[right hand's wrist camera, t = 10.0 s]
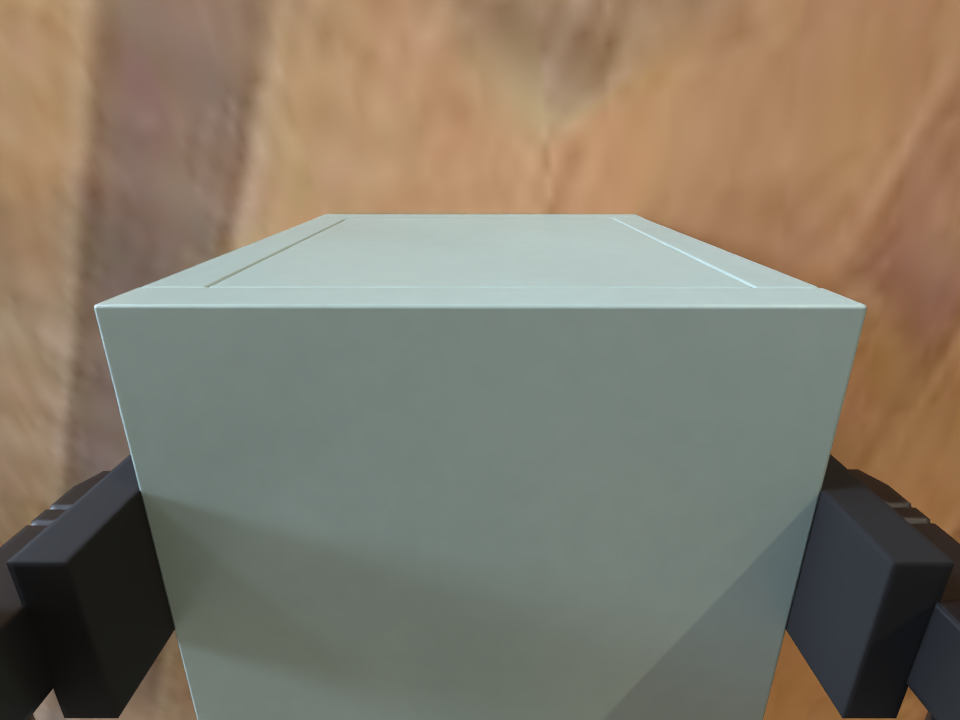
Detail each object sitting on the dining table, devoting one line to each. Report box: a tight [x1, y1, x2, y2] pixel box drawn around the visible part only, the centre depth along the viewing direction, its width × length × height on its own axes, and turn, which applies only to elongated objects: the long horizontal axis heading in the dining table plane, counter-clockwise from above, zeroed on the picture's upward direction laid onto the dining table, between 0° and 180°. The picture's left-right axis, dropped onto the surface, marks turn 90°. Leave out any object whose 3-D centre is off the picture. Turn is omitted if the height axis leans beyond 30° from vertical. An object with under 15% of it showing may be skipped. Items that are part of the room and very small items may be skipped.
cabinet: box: [94, 214, 867, 720], centre depth 16 cm, size 17×10×12 cm, turn 0°
